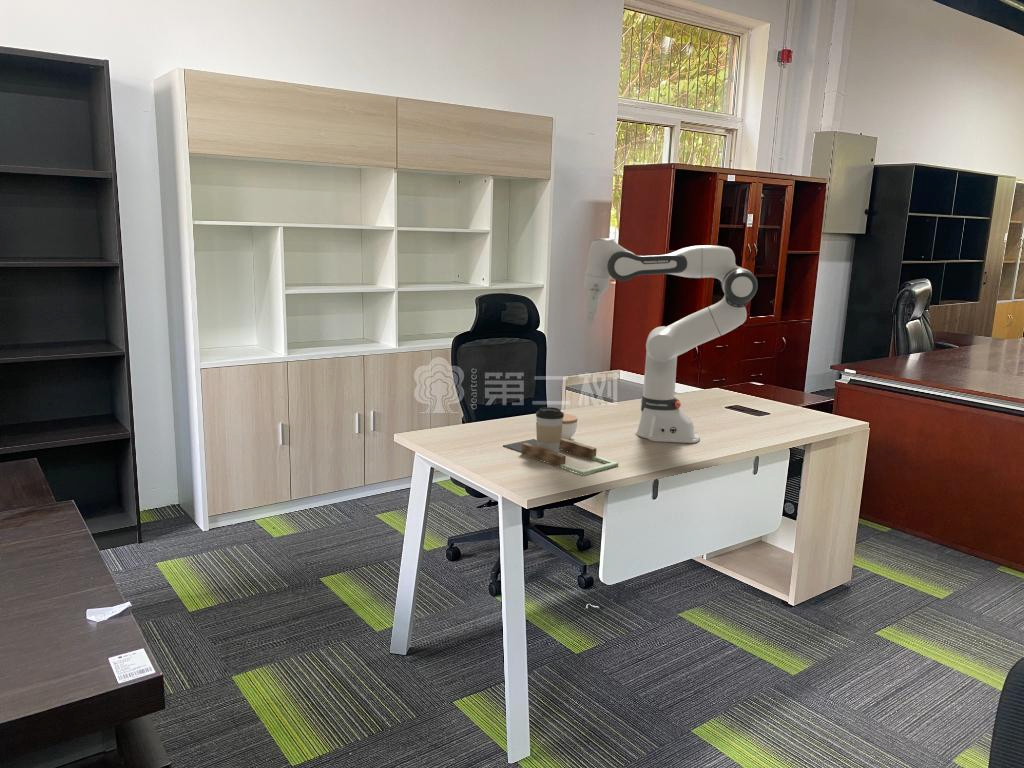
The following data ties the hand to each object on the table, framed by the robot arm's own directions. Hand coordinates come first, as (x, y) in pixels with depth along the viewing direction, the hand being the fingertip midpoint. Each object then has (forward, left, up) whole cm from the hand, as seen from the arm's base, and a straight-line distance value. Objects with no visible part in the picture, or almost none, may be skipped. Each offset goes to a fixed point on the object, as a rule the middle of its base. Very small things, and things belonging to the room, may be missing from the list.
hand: (590, 322), depth 269 cm
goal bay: (-7, +44, -40) cm, 60 cm away
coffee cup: (+7, +34, -40) cm, 53 cm away
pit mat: (+15, +28, -40) cm, 51 cm away
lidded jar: (+6, +15, -40) cm, 43 cm away
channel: (+3, +37, -40) cm, 54 cm away
